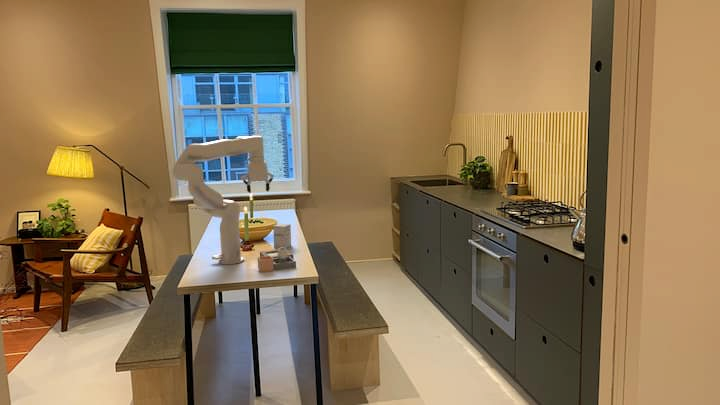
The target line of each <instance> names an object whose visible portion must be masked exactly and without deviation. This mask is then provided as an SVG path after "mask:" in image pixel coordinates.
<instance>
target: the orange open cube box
mask: <svg viewBox="0 0 720 405" xmlns="http://www.w3.org/2000/svg"><path fill="white" fill-rule="evenodd" d="M257 268H258V271H259V272H261V273H268V272H272V271H275V270H274V261H273V258H272V257H271V256H263V257H260V256H258V257H257Z"/></svg>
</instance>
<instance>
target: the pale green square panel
mask: <svg viewBox="0 0 720 405" xmlns="http://www.w3.org/2000/svg"><path fill="white" fill-rule="evenodd" d="M267 255H269V256H277V255H278V253H277V252H276V253H268V254H267Z"/></svg>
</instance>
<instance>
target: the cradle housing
mask: <svg viewBox="0 0 720 405" xmlns="http://www.w3.org/2000/svg"><path fill="white" fill-rule="evenodd" d="M286 251H287V257H289V256H290V257H291V258H292V259H294V260H295V258H294V254H293V253H292V252H291V251H290V250H288V248H286ZM276 252H277V249H271V250H262V251H259V257H263V256H269V255H267V254H268V253H276ZM271 257H272V258H278V255H277V256H271Z"/></svg>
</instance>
